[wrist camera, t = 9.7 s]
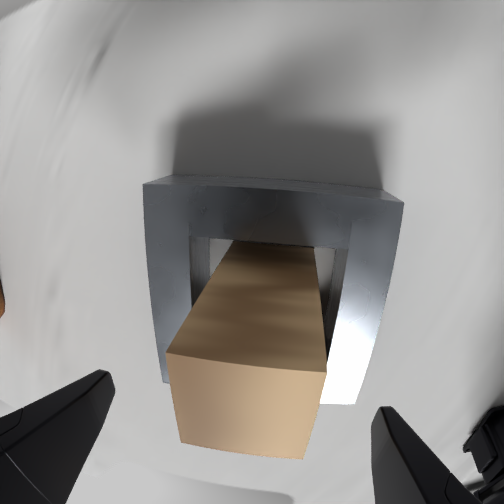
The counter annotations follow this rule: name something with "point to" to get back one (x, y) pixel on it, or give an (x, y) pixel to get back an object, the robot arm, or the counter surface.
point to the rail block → (283, 232)
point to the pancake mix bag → (2, 302)
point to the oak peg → (252, 354)
